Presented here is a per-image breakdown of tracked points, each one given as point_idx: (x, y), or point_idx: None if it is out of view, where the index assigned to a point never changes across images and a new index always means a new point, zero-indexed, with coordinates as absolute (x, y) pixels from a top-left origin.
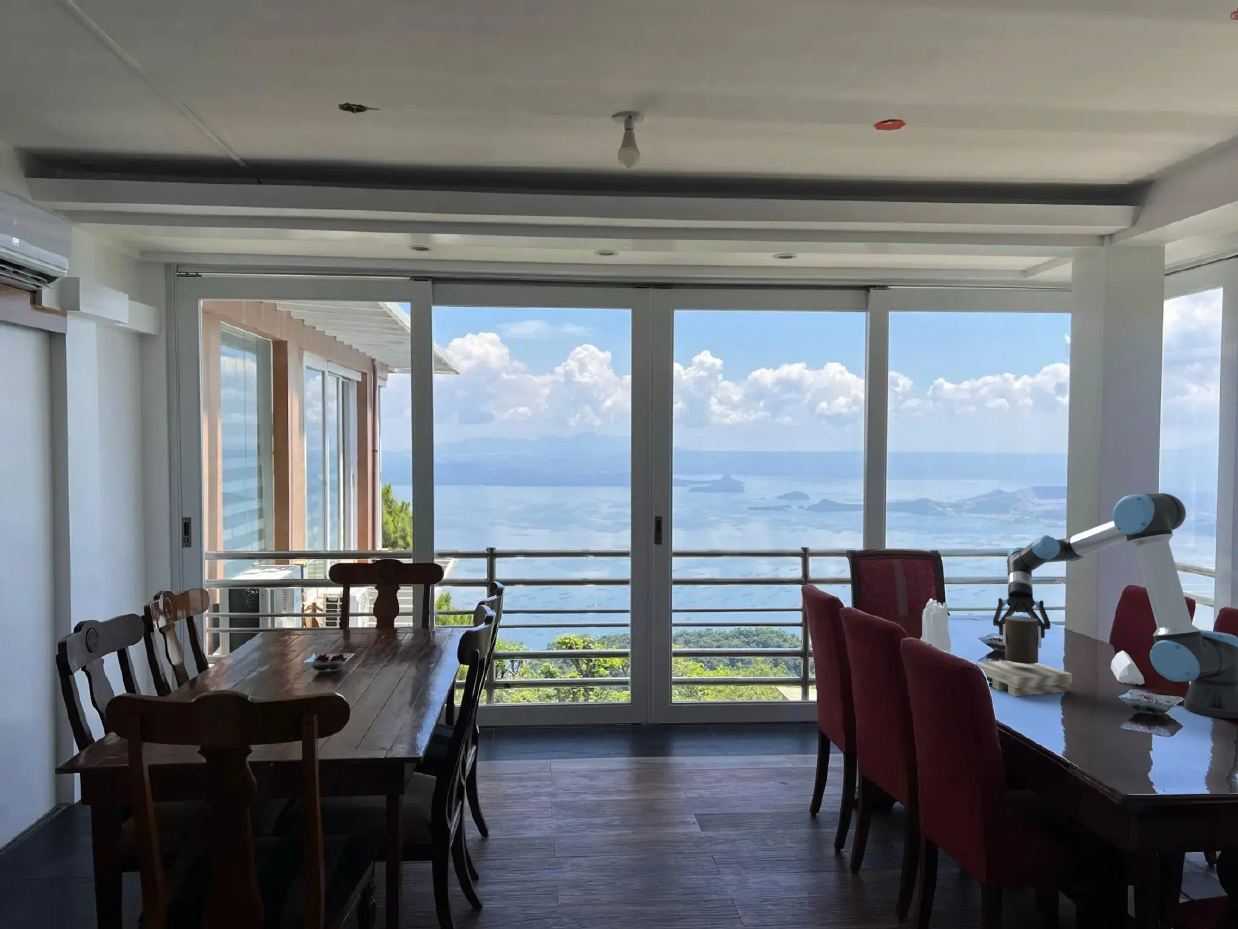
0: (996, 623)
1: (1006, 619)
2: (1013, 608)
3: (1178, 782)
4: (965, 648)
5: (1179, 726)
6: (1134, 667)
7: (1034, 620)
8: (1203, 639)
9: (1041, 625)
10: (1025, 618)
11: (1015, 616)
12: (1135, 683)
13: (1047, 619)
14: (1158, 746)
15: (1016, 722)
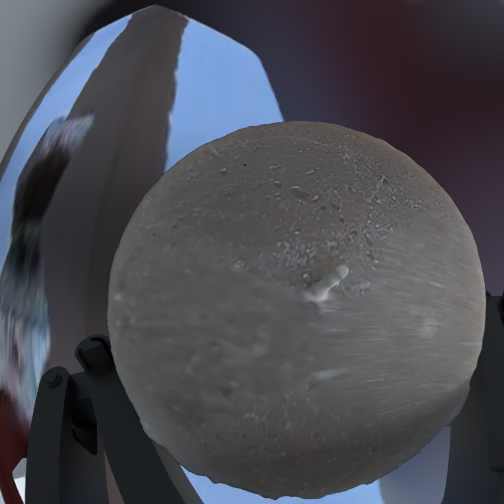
0: (493, 298)
1: (450, 209)
2: (489, 498)
3: (108, 31)
4: None
5: (21, 174)
6: (14, 470)
7: (143, 219)
8: None
9: (109, 344)
10: (267, 306)
11: (416, 418)
12: None
13: (40, 420)
14: (81, 83)
15: (244, 63)
